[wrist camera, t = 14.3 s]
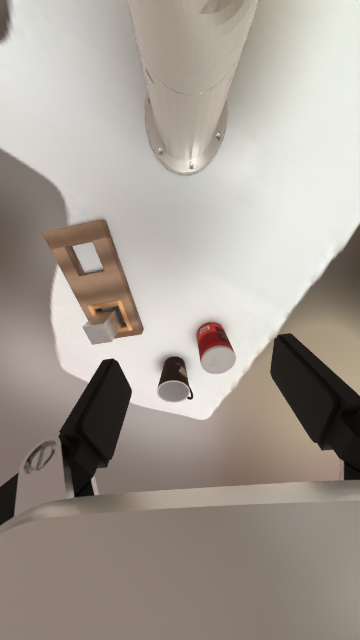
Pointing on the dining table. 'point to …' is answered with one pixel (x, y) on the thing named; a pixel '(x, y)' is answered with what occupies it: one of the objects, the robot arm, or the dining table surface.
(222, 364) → the canned food
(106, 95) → the dining table surface
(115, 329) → the metal block
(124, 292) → the socket board
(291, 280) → the dining table surface
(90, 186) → the dining table surface
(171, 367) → the coffee mug
